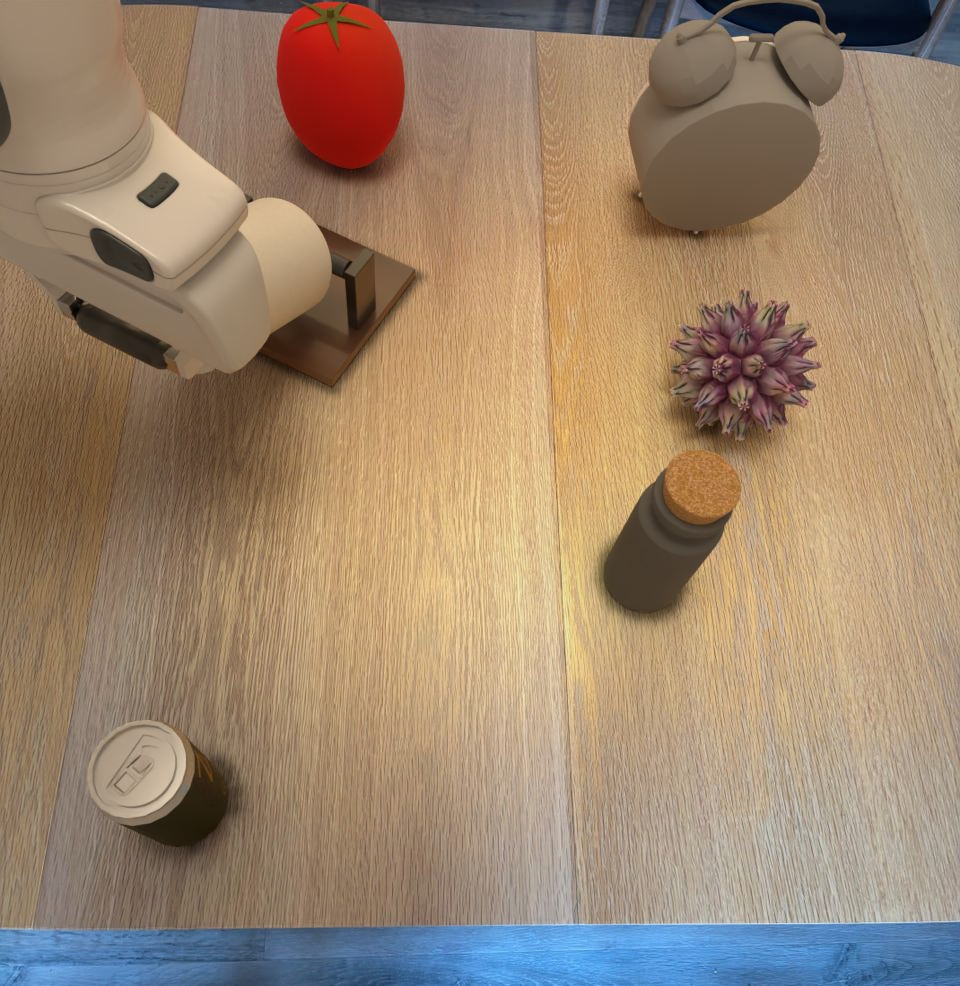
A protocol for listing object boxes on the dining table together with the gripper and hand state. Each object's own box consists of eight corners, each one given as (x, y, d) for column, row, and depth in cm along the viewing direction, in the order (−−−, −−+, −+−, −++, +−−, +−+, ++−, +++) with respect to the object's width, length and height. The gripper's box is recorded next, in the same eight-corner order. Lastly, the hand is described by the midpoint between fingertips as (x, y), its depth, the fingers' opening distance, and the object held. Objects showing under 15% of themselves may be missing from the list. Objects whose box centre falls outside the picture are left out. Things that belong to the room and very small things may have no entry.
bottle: (669, 624, 63) (742, 538, 50) (594, 597, 64) (646, 506, 51) (685, 556, 66) (758, 458, 53) (613, 531, 67) (667, 428, 53)
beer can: (187, 867, 53) (135, 846, 42) (124, 812, 54) (58, 779, 44) (247, 793, 55) (213, 756, 45) (186, 742, 56) (138, 695, 46)
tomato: (262, 124, 84) (240, -19, 72) (364, 90, 88) (359, -51, 76) (323, 207, 80) (311, 70, 68) (428, 168, 84) (434, 31, 71)
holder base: (282, 215, 79) (272, 148, 72) (415, 276, 77) (417, 213, 70) (189, 318, 73) (169, 254, 66) (332, 387, 71) (325, 329, 64)
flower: (787, 461, 73) (670, 474, 68) (733, 346, 78) (621, 351, 73) (880, 384, 63) (752, 393, 59) (813, 258, 68) (689, 258, 64)
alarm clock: (758, 182, 87) (862, -38, 68) (782, 246, 83) (900, 31, 64) (600, 184, 85) (661, -42, 65) (617, 250, 81) (688, 29, 61)
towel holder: (251, 271, 74) (262, 169, 68) (343, 315, 72) (363, 214, 67) (58, 371, 57) (53, 246, 51) (174, 431, 55) (182, 309, 50)
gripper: (-149, 112, 42) (-36, 302, 54) (196, 286, 40) (235, 445, 52) (-53, 49, 46) (34, 242, 58) (274, 205, 43) (294, 374, 55)
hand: (132, 339), depth 55 cm, fingers closed on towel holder, 7 cm apart
